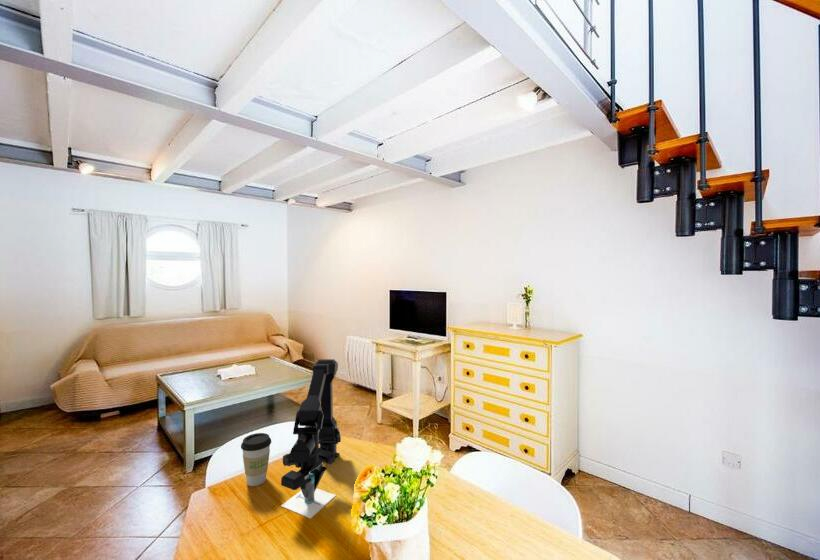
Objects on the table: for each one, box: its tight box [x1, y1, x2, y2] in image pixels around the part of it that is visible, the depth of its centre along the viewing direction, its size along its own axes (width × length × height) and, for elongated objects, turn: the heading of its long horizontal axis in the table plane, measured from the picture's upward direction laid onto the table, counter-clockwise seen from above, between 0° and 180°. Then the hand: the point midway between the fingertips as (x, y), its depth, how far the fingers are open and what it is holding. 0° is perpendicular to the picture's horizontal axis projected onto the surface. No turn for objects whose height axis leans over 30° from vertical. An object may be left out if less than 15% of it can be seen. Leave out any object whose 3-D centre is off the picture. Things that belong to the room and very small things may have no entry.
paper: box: [280, 487, 337, 519], centre depth 114 cm, size 12×12×1 cm
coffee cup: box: [240, 432, 272, 487], centre depth 125 cm, size 10×10×15 cm
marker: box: [305, 473, 315, 504], centre depth 114 cm, size 3×3×8 cm
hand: (309, 494), depth 114 cm, fingers closed on marker, 3 cm apart
